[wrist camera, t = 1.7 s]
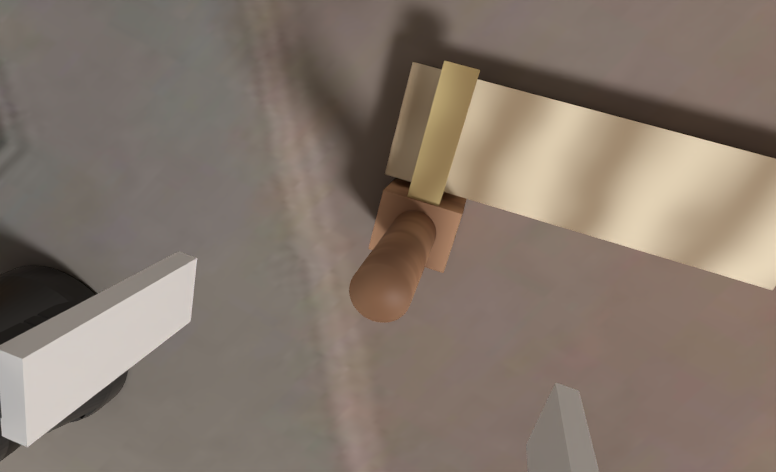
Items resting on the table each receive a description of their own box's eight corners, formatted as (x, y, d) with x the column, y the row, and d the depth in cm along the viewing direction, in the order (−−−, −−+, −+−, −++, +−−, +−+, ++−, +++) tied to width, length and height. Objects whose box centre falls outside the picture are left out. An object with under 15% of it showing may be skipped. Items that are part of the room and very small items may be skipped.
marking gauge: (382, 230, 33) (318, 314, 21) (427, 56, 29) (379, 39, 17) (449, 251, 33) (422, 349, 21) (505, 77, 29) (512, 74, 16)
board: (391, 168, 32) (384, 174, 30) (417, 63, 29) (412, 62, 28) (755, 277, 29) (772, 290, 27) (819, 170, 26) (843, 176, 25)
